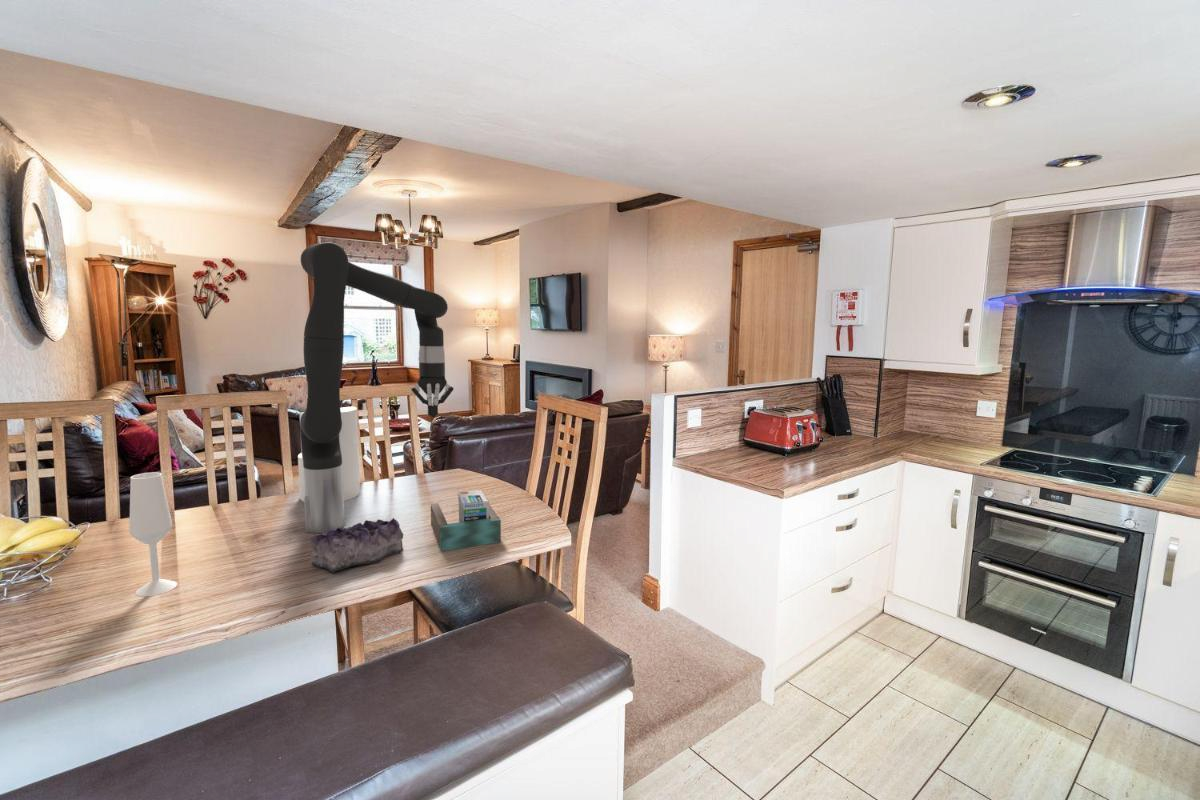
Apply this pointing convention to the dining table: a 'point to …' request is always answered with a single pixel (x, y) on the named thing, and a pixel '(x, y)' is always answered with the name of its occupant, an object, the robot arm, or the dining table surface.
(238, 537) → the dining table surface
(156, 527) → the champagne flute
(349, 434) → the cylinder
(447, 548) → the channel
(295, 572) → the dining table surface
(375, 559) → the geode
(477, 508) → the light bulb box
